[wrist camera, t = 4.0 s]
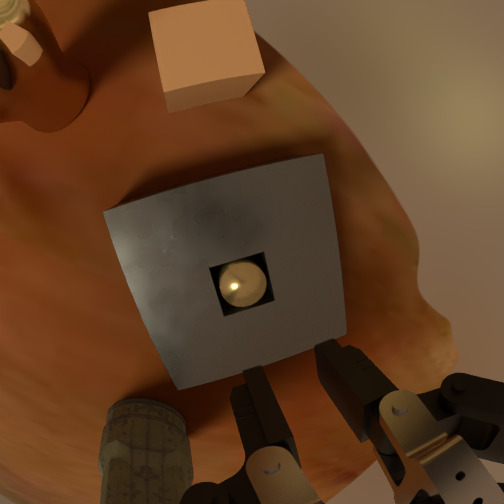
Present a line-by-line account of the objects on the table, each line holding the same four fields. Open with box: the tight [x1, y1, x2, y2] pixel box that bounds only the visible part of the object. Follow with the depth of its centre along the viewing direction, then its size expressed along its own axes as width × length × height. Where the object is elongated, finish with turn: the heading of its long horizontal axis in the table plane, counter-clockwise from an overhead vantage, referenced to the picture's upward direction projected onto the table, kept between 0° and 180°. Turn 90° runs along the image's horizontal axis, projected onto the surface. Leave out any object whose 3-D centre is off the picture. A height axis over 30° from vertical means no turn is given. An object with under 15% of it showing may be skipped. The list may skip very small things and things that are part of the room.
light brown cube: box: [148, 0, 265, 113], centre depth 15 cm, size 6×6×6 cm
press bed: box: [103, 153, 347, 390], centre depth 21 cm, size 14×14×4 cm
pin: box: [214, 256, 266, 307], centre depth 20 cm, size 3×3×4 cm
